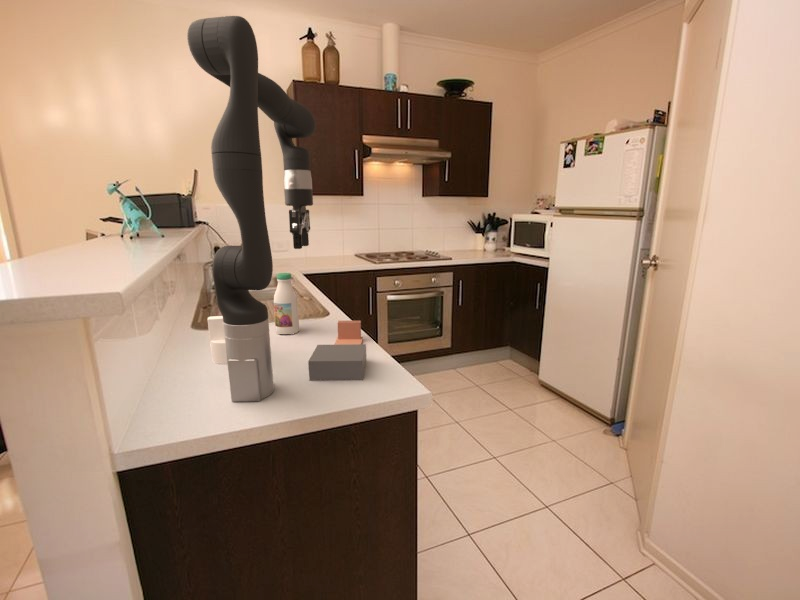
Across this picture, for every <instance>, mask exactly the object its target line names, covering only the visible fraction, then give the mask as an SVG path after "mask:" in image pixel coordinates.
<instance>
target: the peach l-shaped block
mask: <svg viewBox="0 0 800 600" xmlns="http://www.w3.org/2000/svg"><path fill="white" fill-rule="evenodd" d="M363 338H364V337H363V336H362V320H338V321H337V337H336V339H335V342H334V344H333V345H352V344H362V343H363Z"/></svg>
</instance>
